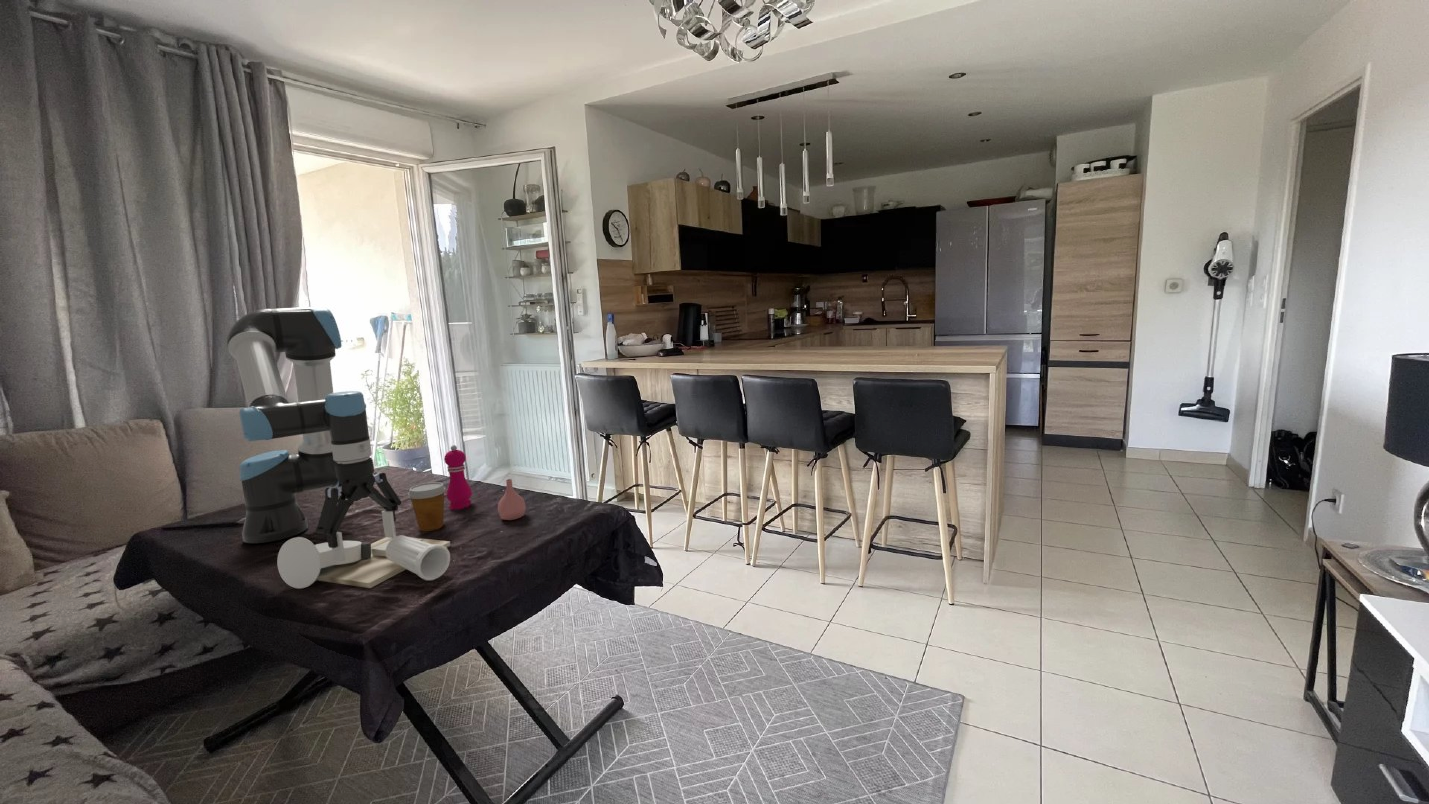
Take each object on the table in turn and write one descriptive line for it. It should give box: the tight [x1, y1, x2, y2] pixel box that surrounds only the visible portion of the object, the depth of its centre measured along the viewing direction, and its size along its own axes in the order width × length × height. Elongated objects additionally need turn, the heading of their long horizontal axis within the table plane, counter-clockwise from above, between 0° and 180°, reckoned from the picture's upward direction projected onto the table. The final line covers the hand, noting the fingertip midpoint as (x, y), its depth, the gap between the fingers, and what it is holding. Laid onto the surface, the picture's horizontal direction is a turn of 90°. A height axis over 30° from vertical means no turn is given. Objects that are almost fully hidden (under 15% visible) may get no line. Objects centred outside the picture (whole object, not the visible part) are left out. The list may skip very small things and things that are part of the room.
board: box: [315, 535, 451, 589], centre depth 145 cm, size 20×24×1 cm
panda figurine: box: [276, 536, 372, 589], centre depth 139 cm, size 12×11×15 cm
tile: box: [372, 537, 423, 556], centre depth 148 cm, size 2×8×8 cm
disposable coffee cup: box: [407, 481, 446, 532], centre depth 167 cm, size 10×10×12 cm
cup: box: [385, 534, 451, 581], centre depth 137 cm, size 8×8×14 cm
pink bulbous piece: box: [497, 478, 527, 521], centre depth 170 cm, size 8×8×12 cm
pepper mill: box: [444, 444, 473, 510], centre depth 182 cm, size 7×7×20 cm
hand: (366, 548), depth 138 cm, fingers open, 13 cm apart
